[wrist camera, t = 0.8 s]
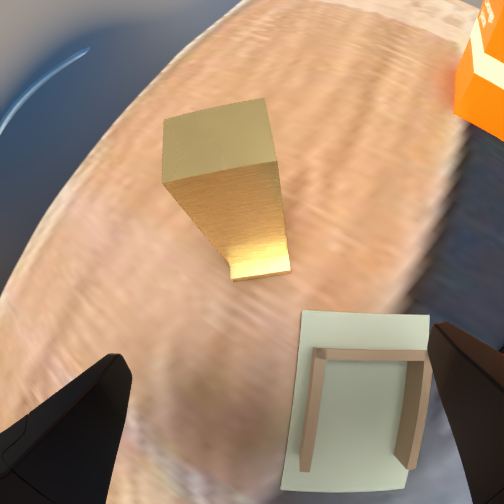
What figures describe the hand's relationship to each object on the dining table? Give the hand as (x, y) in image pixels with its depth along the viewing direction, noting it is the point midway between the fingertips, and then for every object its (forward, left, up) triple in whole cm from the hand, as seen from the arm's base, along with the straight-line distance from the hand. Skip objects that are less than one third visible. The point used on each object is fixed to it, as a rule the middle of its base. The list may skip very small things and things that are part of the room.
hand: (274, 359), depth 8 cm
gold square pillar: (+6, +5, -13) cm, 15 cm away
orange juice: (+29, -12, -13) cm, 34 cm away
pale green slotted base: (-2, -6, -13) cm, 14 cm away
